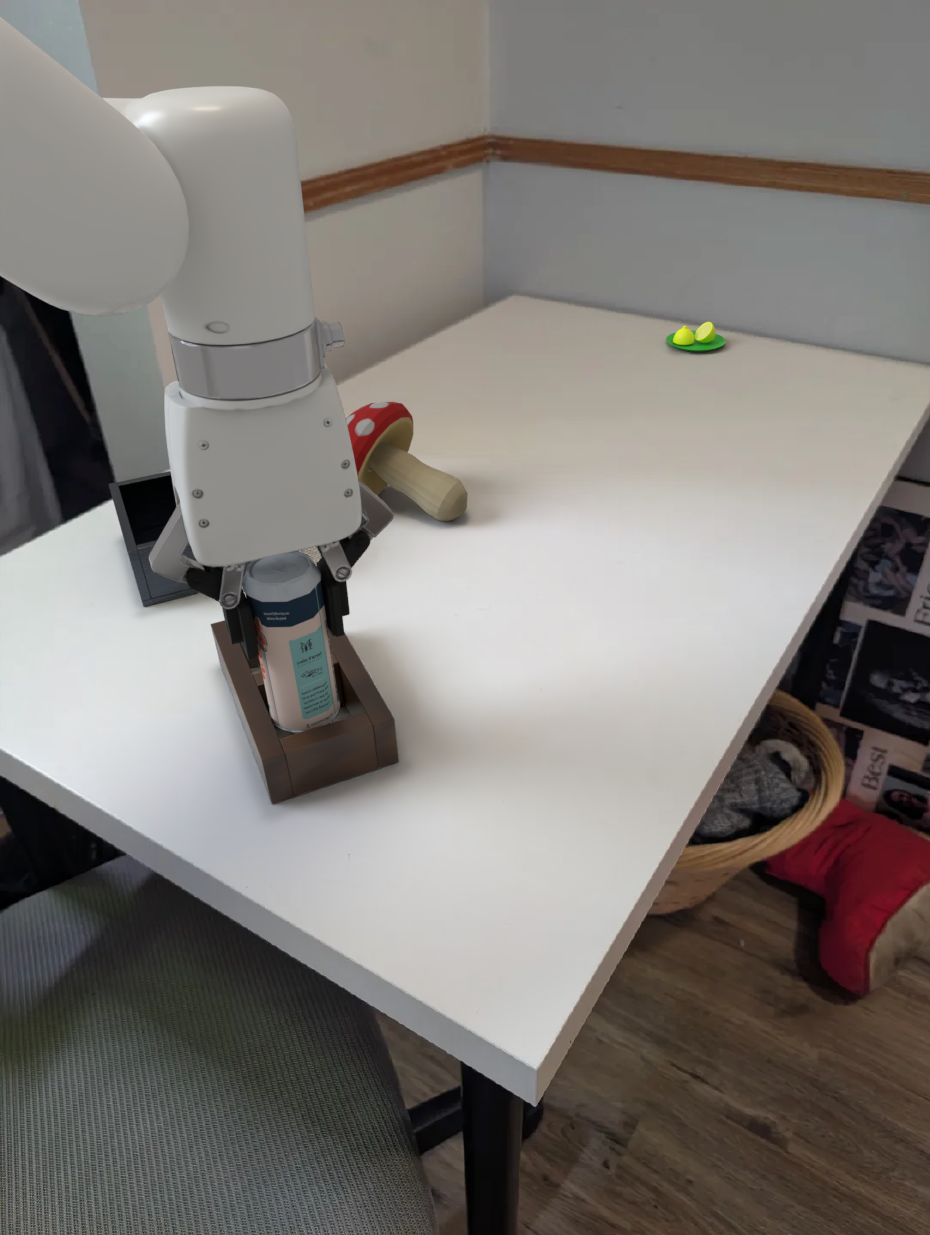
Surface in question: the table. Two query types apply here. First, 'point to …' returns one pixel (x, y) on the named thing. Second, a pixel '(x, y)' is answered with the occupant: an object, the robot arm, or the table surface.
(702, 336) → the lemon
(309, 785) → the rack
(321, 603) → the beer can
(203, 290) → the robot arm
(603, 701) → the table surface
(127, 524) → the dark grey open box
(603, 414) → the table surface
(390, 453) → the decorative mushroom
